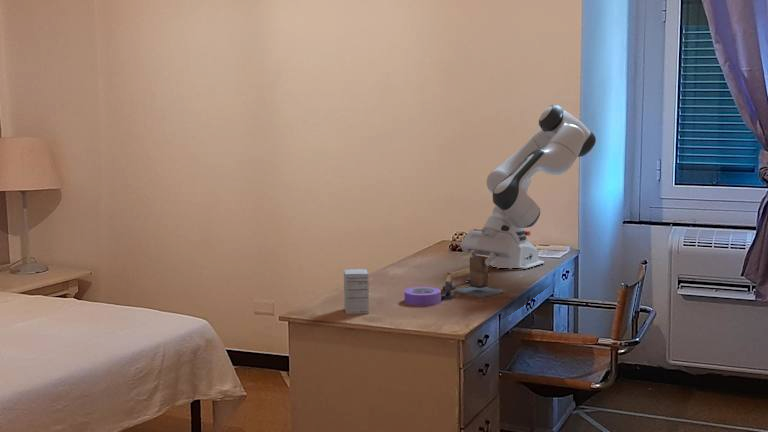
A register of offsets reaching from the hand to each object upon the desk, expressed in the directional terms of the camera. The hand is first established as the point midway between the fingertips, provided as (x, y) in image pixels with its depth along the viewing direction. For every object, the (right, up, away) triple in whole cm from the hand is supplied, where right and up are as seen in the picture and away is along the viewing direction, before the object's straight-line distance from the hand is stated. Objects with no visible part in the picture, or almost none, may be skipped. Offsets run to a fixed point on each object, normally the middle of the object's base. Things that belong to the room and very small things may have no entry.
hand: (478, 263), depth 303 cm
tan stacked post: (0, -8, +1) cm, 8 cm away
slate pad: (+1, -10, +2) cm, 10 cm away
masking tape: (-19, -12, -11) cm, 25 cm away
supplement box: (-40, -14, -23) cm, 48 cm away
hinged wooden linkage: (-7, -9, +8) cm, 14 cm away
